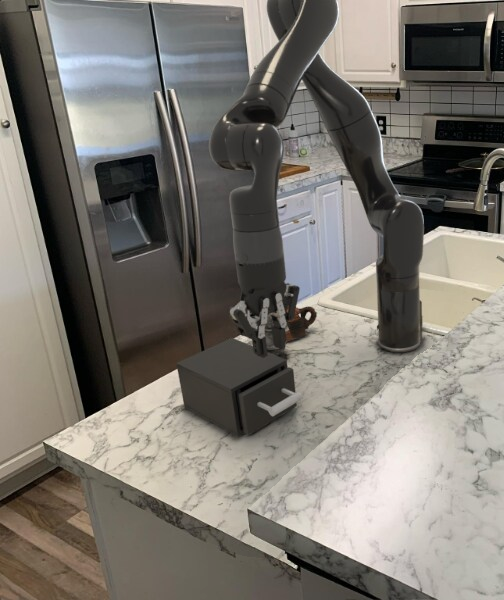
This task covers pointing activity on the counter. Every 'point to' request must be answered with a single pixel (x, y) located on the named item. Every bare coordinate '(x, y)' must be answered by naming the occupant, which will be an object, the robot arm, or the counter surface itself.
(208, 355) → the small drawer cabinet
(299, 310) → the pottery mug
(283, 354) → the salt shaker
